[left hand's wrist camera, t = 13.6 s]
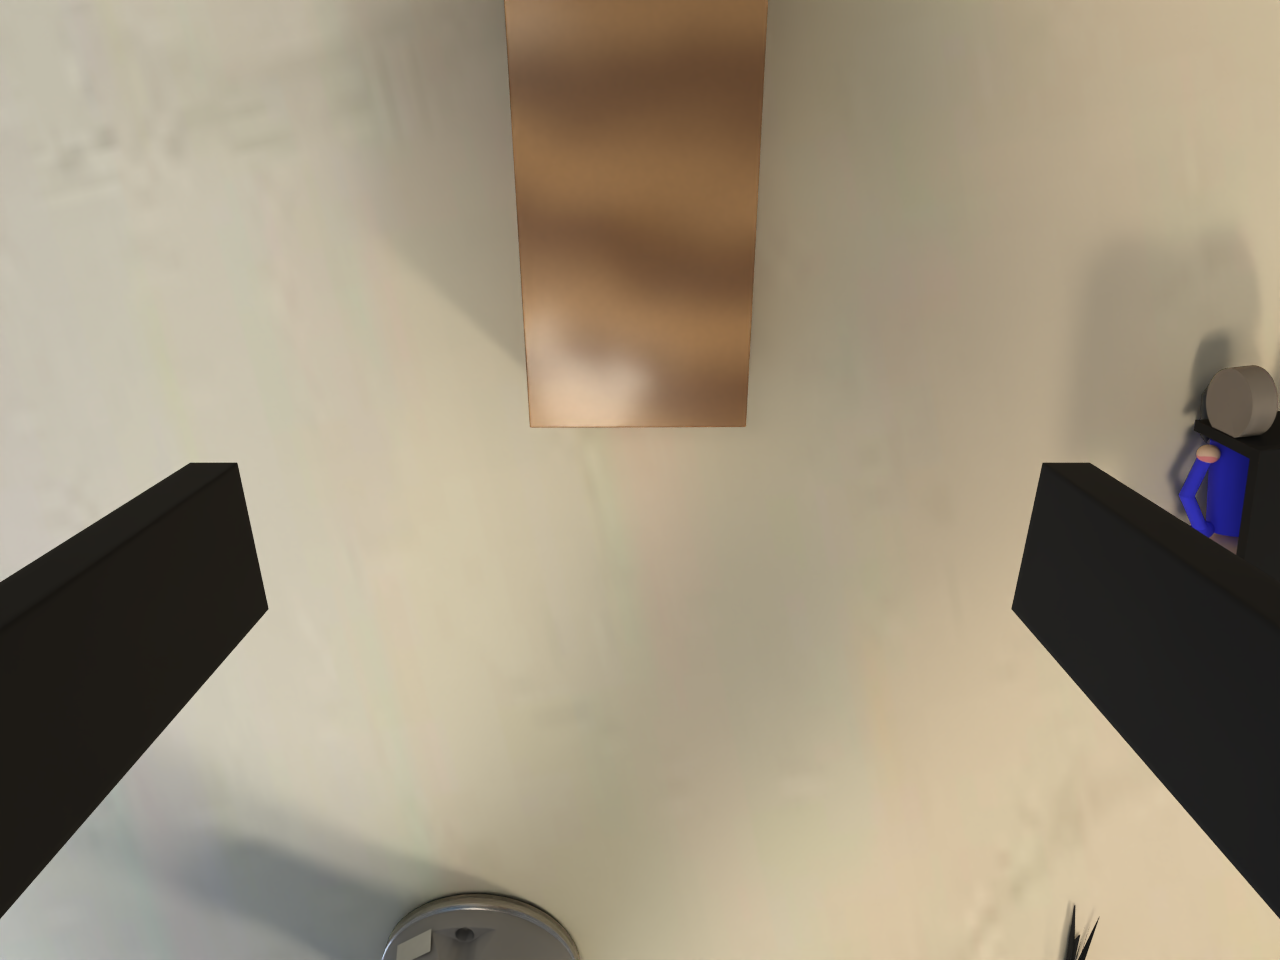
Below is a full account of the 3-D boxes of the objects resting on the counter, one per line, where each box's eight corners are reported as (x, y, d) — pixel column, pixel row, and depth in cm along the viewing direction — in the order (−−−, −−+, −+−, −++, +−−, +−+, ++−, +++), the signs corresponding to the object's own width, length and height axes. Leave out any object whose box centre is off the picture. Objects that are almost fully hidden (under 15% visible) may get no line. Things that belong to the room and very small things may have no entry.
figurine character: (1154, 358, 42) (1147, 600, 46) (1259, 375, 35) (1239, 660, 39) (1277, 340, 42) (1259, 585, 46) (1408, 354, 35) (1374, 644, 39)
